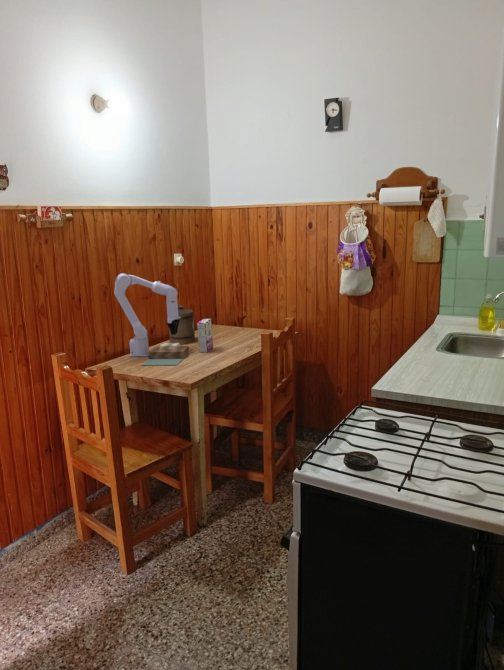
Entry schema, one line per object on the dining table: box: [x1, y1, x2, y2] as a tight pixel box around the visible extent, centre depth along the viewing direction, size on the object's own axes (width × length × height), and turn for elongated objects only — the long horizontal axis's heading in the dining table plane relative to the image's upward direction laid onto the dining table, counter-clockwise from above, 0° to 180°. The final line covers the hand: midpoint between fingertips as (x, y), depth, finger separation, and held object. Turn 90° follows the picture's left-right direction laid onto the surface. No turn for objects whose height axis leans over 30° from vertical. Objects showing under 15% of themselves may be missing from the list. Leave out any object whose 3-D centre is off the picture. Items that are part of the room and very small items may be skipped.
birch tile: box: [159, 342, 181, 350], centre depth 252 cm, size 9×6×2 cm, turn 83°
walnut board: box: [148, 345, 190, 360], centre depth 250 cm, size 18×12×4 cm, turn 83°
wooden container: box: [168, 304, 196, 345], centre depth 282 cm, size 15×15×22 cm
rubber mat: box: [141, 358, 184, 367], centre depth 239 cm, size 18×11×1 cm, turn 83°
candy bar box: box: [196, 318, 214, 354], centre depth 259 cm, size 11×5×16 cm, turn 168°
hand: (174, 333), depth 260 cm, fingers open, 3 cm apart
